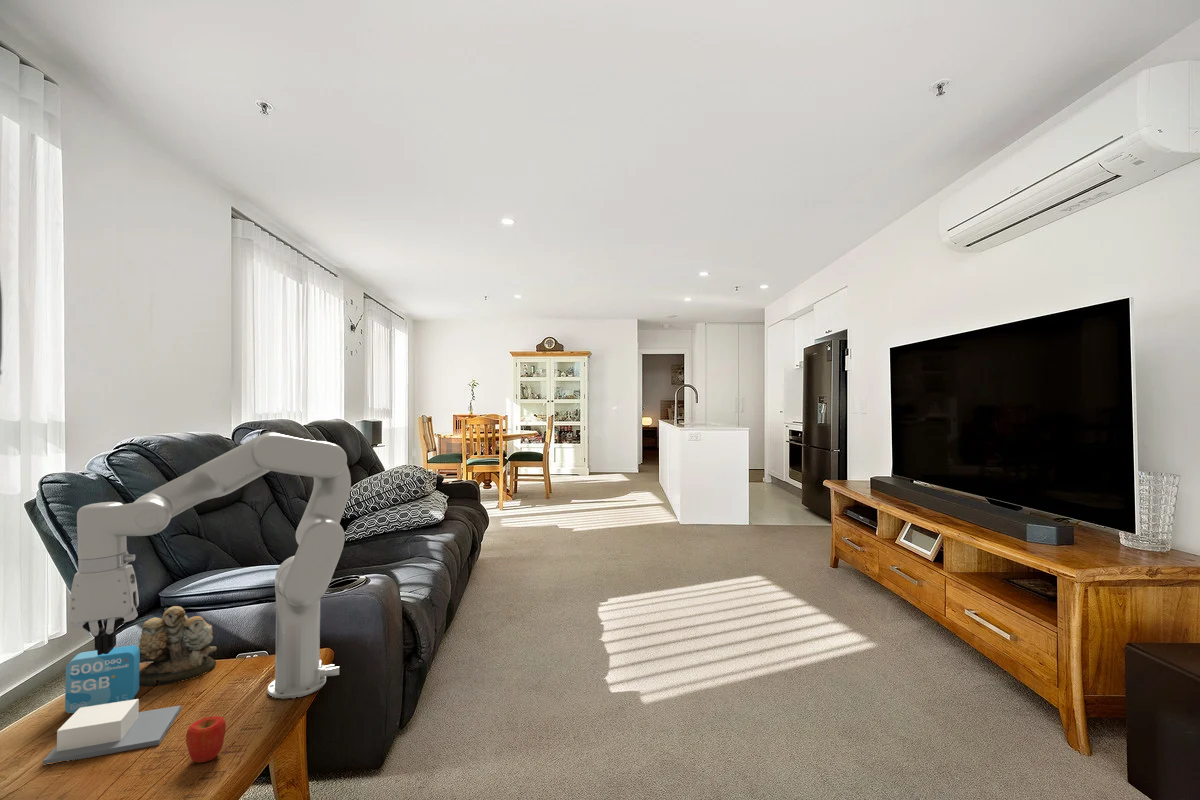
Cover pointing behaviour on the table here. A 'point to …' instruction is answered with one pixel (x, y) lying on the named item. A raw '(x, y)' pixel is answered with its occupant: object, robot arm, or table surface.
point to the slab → (97, 724)
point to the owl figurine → (175, 648)
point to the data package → (102, 678)
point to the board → (126, 736)
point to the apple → (205, 738)
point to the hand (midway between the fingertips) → (105, 651)
